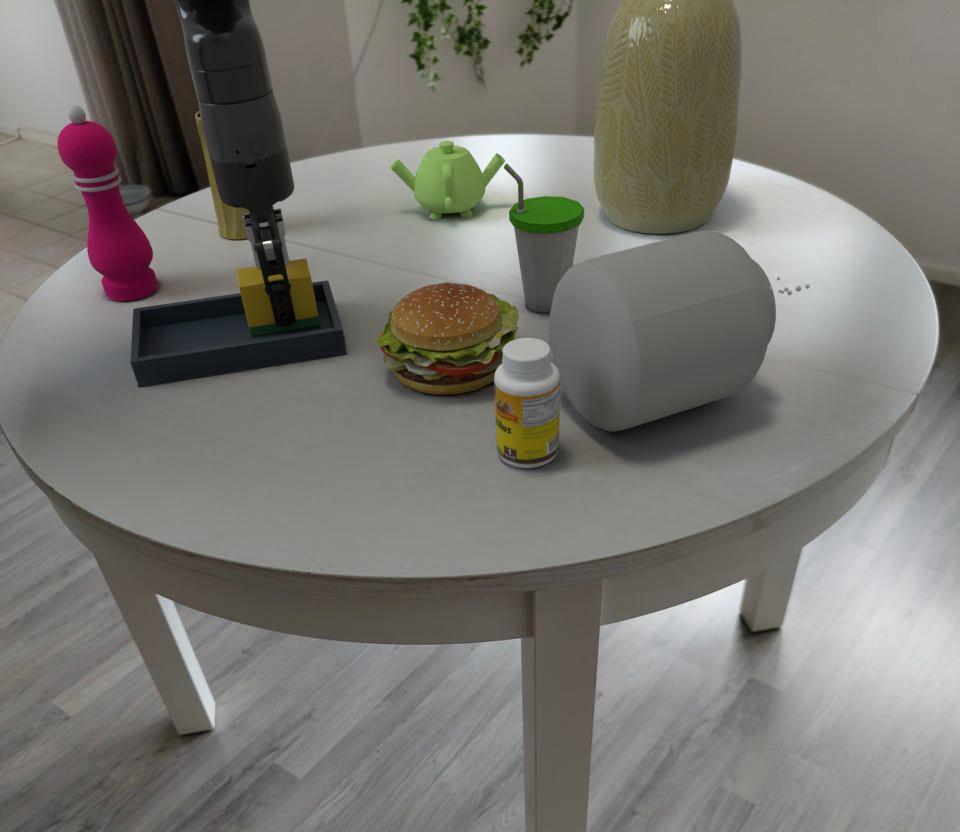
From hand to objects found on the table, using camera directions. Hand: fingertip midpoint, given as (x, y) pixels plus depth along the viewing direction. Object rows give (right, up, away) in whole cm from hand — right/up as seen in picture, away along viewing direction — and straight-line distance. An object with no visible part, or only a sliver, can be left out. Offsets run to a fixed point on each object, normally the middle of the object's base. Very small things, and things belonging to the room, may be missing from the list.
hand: (284, 312), depth 102 cm
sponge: (0, -1, +1) cm, 1 cm away
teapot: (+18, +23, +25) cm, 38 cm away
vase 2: (+45, +19, +20) cm, 52 cm away
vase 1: (-10, +18, +22) cm, 31 cm away
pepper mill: (-20, +6, +10) cm, 24 cm away
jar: (+41, -11, -11) cm, 44 cm away
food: (+19, -8, -7) cm, 22 cm away
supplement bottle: (+26, -19, -18) cm, 37 cm away
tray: (-5, -4, -1) cm, 6 cm away
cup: (+29, +2, +3) cm, 29 cm away
